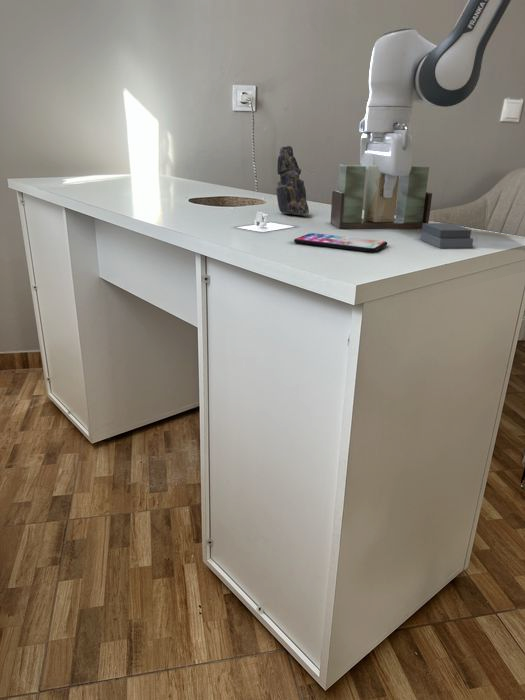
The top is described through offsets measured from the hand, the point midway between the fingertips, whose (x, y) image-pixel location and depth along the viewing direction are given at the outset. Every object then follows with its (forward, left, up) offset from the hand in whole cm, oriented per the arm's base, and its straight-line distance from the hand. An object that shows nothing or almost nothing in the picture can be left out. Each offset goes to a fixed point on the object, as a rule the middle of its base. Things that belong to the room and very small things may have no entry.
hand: (381, 195), depth 115 cm
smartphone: (+14, +20, -6) cm, 25 cm away
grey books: (-5, +20, -6) cm, 22 cm away
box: (0, 0, -5) cm, 5 cm away
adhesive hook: (+24, +1, -6) cm, 25 cm away
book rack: (0, 0, -6) cm, 6 cm away
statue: (+15, -17, -6) cm, 24 cm away
